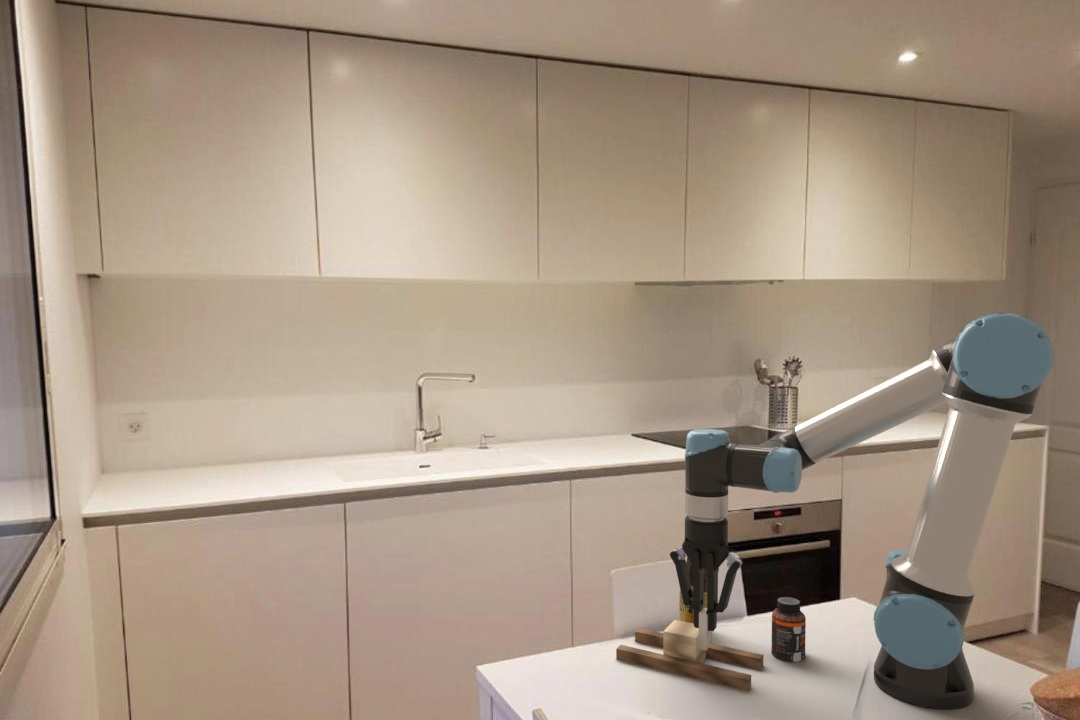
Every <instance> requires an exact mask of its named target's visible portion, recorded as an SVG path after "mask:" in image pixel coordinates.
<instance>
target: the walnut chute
mask: <svg viewBox="0 0 1080 720" xmlns="http://www.w3.org/2000/svg"><path fill="white" fill-rule="evenodd" d="M634 642H637V643H639V644H644V645H645V644H646V645H650V646H653V647H658V648H661V649H663V632H659V631H656V630H650V629H646V628H641V627H638V628H637V629H636V630H635V631H634ZM615 650H616V651H615V652H616V653H615V654H616V655H615V656H616V657H615V658H616V660H618V661H623V662H626V663H630V664H634V665H639V666H643V667H648V668H651V669H654V670H659V671H663V672H667V673H672V674H674V675H675V674H676V675H680V676H683V677H688V678H692V679H696V680H701V681H705V682H709V683H713V684H716V685H720V686H725V687H729V688H733V689H737V690H740V691H744V692H745V691H746V692H749V691H750V690H751V689H750V688H751V687H752V675H751V674H750V673H749V674H748V673H744V672H741V671H740V672H739V671H737V670H736V671H735V670H731V669H728V668H722V667H718V666H714V665H710V664H705V663H698V662H693V661H689V660H685V659H680V658H676V657H672V656H667V655H663V654H662V653H659V652H658V653H657V652H655V651H654V652H653V651H649V650H647V649H646V650H645V649H641V648H638V647H632V646H629V645H623V644H619V646H618V647H617V648H616V649H615ZM706 659H711V660H715V661H719V662H723V663H727V664H728V663H729V664H731V665H732V664H733V665H738V666H742V667H745V668H749V669H754V670H759V671H762V669H763V667H764V654H760V653H756V652H752V651H747V650H742V649H738V648H733V647H729V646H725V645H719V644H714V643H711V645H710V647H709V648H708V649H707V650H706Z"/></svg>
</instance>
